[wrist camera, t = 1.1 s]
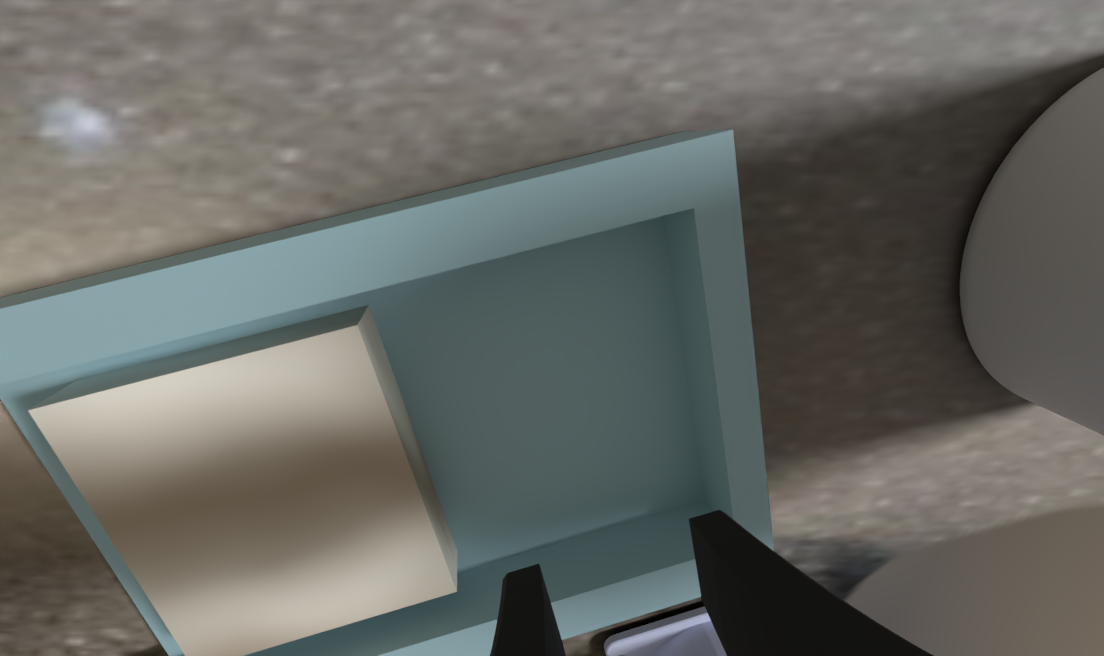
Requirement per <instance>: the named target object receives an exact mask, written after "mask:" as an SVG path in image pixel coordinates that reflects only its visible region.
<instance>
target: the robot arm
mask: <svg viewBox="0 0 1104 656" xmlns="http://www.w3.org/2000/svg"><path fill="white" fill-rule="evenodd" d="M689 524H690V530H691V537H692V543H693V549H694V555H695V561H696V567H697V573H698V579H699V586H700V592H701V598H702V602H703V604H704V607H701V608H697V609H694V610H691V611H688V612H685V613H681V614H678V615H675V616H672V617H669V618H665V619H662V620H659V621H656V622H653V623H649V624H646V625H643V626H640V627H636V628H633V629H630V630H627V631H624V632H620V633H617V634H614V635H612V636H610V637H609V638H607V639H606V641H605V643H604V650H605V654H606V656H619V655H620V656H933V655H931V654H929V653H928V652H926V651H924V650H922V649H921V648H919V647H917V646H915V645H914V644H912V643H910V642H909V641H907V640H905V639H903V638H902V637H900V636H898V635H897V634H895V633H893V632H892V631H890V630H889V629H887V628H885V627H884V626H882V625H880V624H879V623H877V622H876V621H874V620H873V619H871V618H869V617H868V616H866V615H865V614H863V613H862V612H860V611H858V610H857V609H855V608H854V607H852V606H851V605H849V604H848V603H846V602H845V601H843V600H842V599H840V598H839V597H837V596H836V595H834V594H833V593H831V592H830V591H828V590H827V589H825V588H824V587H823V586H821V585H820V584H818V583H817V582H816V581H814V580H813V579H811V578H810V577H808V576H807V575H806V574H804V573H803V572H801V571H800V570H799V569H797V568H796V567H794V566H793V565H792V564H790V563H789V562H787V561H786V560H785V559H783V558H782V557H781V556H779V555H778V554H777V553H775V552H774V551H773V550H772V549H770V548H769V547H768V546H766V545H765V544H764V543H762V542H761V541H760V540H758V539H757V538H756V537H755V536H753V535H752V534H751V533H750V532H748V531H747V530H746V529H744V528H743V527H742V526H741V525H740V524H738V523H737V522H736V521H735V520H733V519H732V518H731V517H730V516H728V515H727V514H726V513H724V512H723V511H721V510H717V511H713V512H710V513H707V514H703V515H700V516H696V517H693V518H690V519H689ZM490 656H565V651H564V647H563V643H562V639H561V636H560V632H559V629H558V626H557V622H556V619H555V615H554V612H553V609H552V605H551V602H550V598H549V595H548V592H547V588H546V585H545V581H544V578H543V575H542V571H541V568H540V565H539V564H536V565H532V566H529V567H526V568H522V569H519V570H516V571H512V572H509V573H507V574H506V575H505V577H504V578H503V580H502V592H501V600H500V607H499V613H498V619H497V625H496V630H495V635H494V640H493V645H492V649H491V653H490Z"/></svg>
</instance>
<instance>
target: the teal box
mask: <svg viewBox="0 0 1104 656" xmlns="http://www.w3.org/2000/svg"><path fill="white" fill-rule="evenodd" d="M367 305H369V307H370V310H371V312H372V315H373V318H374V321H375V324H376V326H377V329H378V332H379V335H380V337H381V340H382V343H383V346H384V349H385V351H386V354H387V357H388V360H389V362H390V365H391V368H392V371H393V374H394V376H395V379H396V382H397V385H398V387H399V390H400V393H401V396H402V399H403V401H404V404H405V407H406V410H407V413H408V415H409V418H410V421H411V424H412V426H413V429H414V432H415V435H416V438H417V440H418V443H419V446H420V449H421V451H422V454H423V457H424V460H425V463H426V465H427V468H428V471H429V474H430V476H431V479H432V482H433V485H434V488H435V490H436V493H437V496H438V499H439V501H440V504H441V507H442V510H443V513H444V515H445V518H446V521H447V524H448V526H449V529H450V532H451V535H452V538H453V540H454V543H455V546H456V549H457V592H454V593H451V594H448V595H444V596H441V597H438V598H434V599H431V600H428V601H424V602H421V603H418V604H414V605H411V606H408V607H404V608H401V609H398V610H394V611H391V612H388V613H384V614H381V615H378V616H374V617H371V618H368V619H364V620H361V621H358V622H354V623H351V624H347V625H344V626H341V627H337V628H334V629H331V630H327V631H324V632H321V633H317V634H314V635H311V636H307V637H304V638H301V639H297V640H294V641H291V642H287V643H284V644H281V645H277V646H274V647H271V648H267V649H264V650H261V651H257V652H254V653H250V654H247V655H244V656H490V653H491V649H492V645H493V640H494V635H495V630H496V625H497V619H498V613H499V607H500V600H501V592H502V580H503V578H504V577H505V575H506V574H507V573H509V572H512V571H516V570H519V569H522V568H526V567H529V566H532V565H536V564H539V565H540V568H541V571H542V575H543V578H544V581H545V585H546V588H547V592H548V595H549V598H550V602H551V605H552V609H553V612H554V615H555V619H556V622H557V626H558V629H559V632H560V636H561V639H562V640H563V639H567V638H570V637H573V636H576V635H579V634H583V633H586V632H589V631H592V630H596V629H599V628H602V627H605V626H608V625H612V624H615V623H618V622H621V621H625V620H628V619H631V618H634V617H637V616H641V615H644V614H647V613H650V612H654V611H657V610H660V609H663V608H666V607H670V606H673V605H676V604H679V603H683V602H686V601H689V600H692V599H696V598H699V597H701V592H700V586H699V579H698V573H697V567H696V561H695V555H694V549H693V543H692V537H691V530H690V524H689V519H690V518H693V517H696V516H700V515H703V514H707V513H710V512H713V511H717V510H721V511H723V512H724V513H726V514H727V515H728V516H730V517H731V518H732V519H733V520H735V521H736V522H737V523H738V524H740V525H741V526H742V527H743V528H744V529H746V530H747V531H748V532H750V533H751V534H752V535H753V536H755V537H756V538H757V539H758V540H760V541H761V542H762V543H764V544H765V545H766V546H768V547H769V548H770V549H772V550H773V551H774V546H773V536H772V526H771V516H770V505H769V495H768V485H767V474H766V464H765V454H764V443H763V433H762V423H761V412H760V402H759V392H758V381H757V371H756V361H755V351H754V340H753V330H752V320H751V309H750V299H749V289H748V278H747V268H746V258H745V247H744V237H743V227H742V216H741V206H740V196H739V185H738V175H737V165H736V155H735V144H734V134H733V129H732V130H708V131H684V132H678V133H674V134H670V135H666V136H662V137H658V138H654V139H650V140H646V141H641V142H637V143H633V144H629V145H625V146H621V147H617V148H613V149H609V150H604V151H600V152H596V153H592V154H588V155H584V156H580V157H576V158H572V159H567V160H563V161H559V162H555V163H551V164H547V165H543V166H539V167H535V168H531V169H526V170H522V171H518V172H514V173H510V174H506V175H502V176H498V177H494V178H489V179H485V180H481V181H477V182H473V183H469V184H465V185H461V186H457V187H452V188H448V189H444V190H440V191H436V192H432V193H428V194H424V195H420V196H415V197H411V198H407V199H403V200H399V201H395V202H391V203H387V204H383V205H378V206H374V207H370V208H366V209H362V210H358V211H354V212H350V213H346V214H342V215H337V216H333V217H329V218H325V219H321V220H317V221H313V222H309V223H305V224H300V225H296V226H292V227H288V228H284V229H280V230H276V231H272V232H268V233H263V234H259V235H255V236H251V237H247V238H243V239H239V240H235V241H231V242H226V243H222V244H218V245H214V246H210V247H206V248H202V249H198V250H194V251H190V252H185V253H181V254H177V255H173V256H169V257H165V258H161V259H157V260H153V261H148V262H144V263H140V264H136V265H132V266H128V267H124V268H120V269H116V270H111V271H107V272H103V273H99V274H95V275H91V276H87V277H83V278H79V279H74V280H70V281H66V282H62V283H58V284H54V285H50V286H46V287H42V288H38V289H33V290H29V291H25V292H21V293H17V294H13V295H9V296H5V297H1V298H0V400H1V401H2V403H3V404H4V406H5V407H6V409H7V410H8V412H9V413H10V415H11V416H12V418H13V419H14V421H15V422H16V424H17V425H18V427H19V428H20V430H21V432H22V433H23V435H24V436H25V438H26V439H27V441H28V442H29V444H30V445H31V447H32V448H33V450H34V451H35V453H36V454H37V456H38V457H39V459H40V460H41V462H42V463H43V465H44V467H45V468H46V470H47V471H48V473H49V474H50V476H51V477H52V479H53V480H54V482H55V483H56V485H57V486H58V488H59V489H60V491H61V492H62V494H63V495H64V497H65V499H66V500H67V502H68V503H69V505H70V506H71V508H72V509H73V511H74V512H75V514H76V515H77V517H78V518H79V520H80V521H81V523H82V524H83V526H84V527H85V529H86V531H87V532H88V534H89V535H90V537H91V538H92V540H93V541H94V543H95V544H96V546H97V547H98V549H99V550H100V552H101V553H102V555H103V556H104V558H105V559H106V561H107V562H108V564H109V566H110V567H111V569H112V570H113V572H114V573H115V575H116V576H117V578H118V579H119V581H120V582H121V584H122V585H123V587H124V588H125V590H126V591H127V593H128V594H129V596H130V598H131V599H132V601H133V602H134V604H135V605H136V607H137V608H138V610H139V611H140V613H141V614H142V616H143V617H144V619H145V620H146V622H147V623H148V625H149V626H150V628H151V630H152V631H153V633H154V634H155V636H156V637H157V639H158V640H159V642H160V643H161V645H162V646H163V648H164V649H165V651H166V652H167V654H168V655H169V656H185V655H184V653H183V652H182V650H181V648H180V647H179V645H178V644H177V642H176V641H175V639H174V638H173V636H172V634H171V633H170V631H169V630H168V628H167V627H166V625H165V623H164V622H163V620H162V619H161V617H160V616H159V614H158V613H157V611H156V609H155V608H154V606H153V605H152V603H151V602H150V600H149V599H148V597H147V595H146V594H145V592H144V591H143V589H142V588H141V586H140V585H139V583H138V581H137V580H136V578H135V577H134V575H133V574H132V572H131V571H130V569H129V567H128V566H127V564H126V563H125V561H124V560H123V558H122V556H121V555H120V553H119V552H118V550H117V549H116V547H115V546H114V544H113V542H112V541H111V539H110V538H109V536H108V535H107V533H106V532H105V530H104V528H103V527H102V525H101V524H100V522H99V521H98V519H97V518H96V516H95V514H94V513H93V511H92V510H91V508H90V507H89V505H88V503H87V502H86V500H85V499H84V497H83V496H82V494H81V493H80V491H79V489H78V488H77V486H76V485H75V483H74V482H73V480H72V479H71V477H70V475H69V474H68V472H67V471H66V469H65V468H64V466H63V465H62V463H61V461H60V460H59V458H58V457H57V455H56V454H55V452H54V450H53V449H52V447H51V446H50V444H49V443H48V441H47V440H46V438H45V436H44V435H43V433H42V432H41V430H40V429H39V427H38V426H37V424H36V422H35V421H34V419H33V418H32V416H31V415H30V413H29V412H28V410H29V409H31V408H33V407H34V406H36V405H37V404H39V403H41V402H42V401H44V400H45V399H47V398H49V397H50V396H52V395H53V394H55V393H57V392H58V391H60V390H62V389H63V388H65V387H66V386H68V385H70V384H71V383H73V382H74V381H76V380H78V379H82V378H86V377H90V376H94V375H98V374H102V373H106V372H109V371H113V370H117V369H121V368H125V367H129V366H133V365H137V364H141V363H145V362H148V361H152V360H156V359H160V358H164V357H168V356H172V355H176V354H180V353H184V352H187V351H191V350H195V349H199V348H203V347H207V346H211V345H215V344H219V343H223V342H226V341H230V340H234V339H238V338H242V337H246V336H250V335H254V334H258V333H261V332H265V331H269V330H273V329H277V328H281V327H285V326H289V325H293V324H297V323H300V322H304V321H308V320H312V319H316V318H320V317H324V316H328V315H332V314H336V313H339V312H343V311H347V310H351V309H355V308H359V307H363V306H367Z"/></svg>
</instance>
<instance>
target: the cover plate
mask: <svg viewBox="0 0 1104 656" xmlns="http://www.w3.org/2000/svg"><path fill="white" fill-rule="evenodd" d="M28 412H29V413H30V415H31V416H32V418H33V419H34V421H35V422H36V424H37V426H38V427H39V429H40V430H41V432H42V433H43V435H44V436H45V438H46V440H47V441H48V443H49V444H50V446H51V447H52V449H53V450H54V452H55V454H56V455H57V457H58V458H59V460H60V461H61V463H62V465H63V466H64V468H65V469H66V471H67V472H68V474H69V475H70V477H71V479H72V480H73V482H74V483H75V485H76V486H77V488H78V489H79V491H80V493H81V494H82V496H83V497H84V499H85V500H86V502H87V503H88V505H89V507H90V508H91V510H92V511H93V513H94V514H95V516H96V518H97V519H98V521H99V522H100V524H101V525H102V527H103V528H104V530H105V532H106V533H107V535H108V536H109V538H110V539H111V541H112V542H113V544H114V546H115V547H116V549H117V550H118V552H119V553H120V555H121V556H122V558H123V560H124V561H125V563H126V564H127V566H128V567H129V569H130V571H131V572H132V574H133V575H134V577H135V578H136V580H137V581H138V583H139V585H140V586H141V588H142V589H143V591H144V592H145V594H146V595H147V597H148V599H149V600H150V602H151V603H152V605H153V606H154V608H155V609H156V611H157V613H158V614H159V616H160V617H161V619H162V620H163V622H164V623H165V625H166V627H167V628H168V630H169V631H170V633H171V634H172V636H173V638H174V639H175V641H176V642H177V644H178V645H179V647H180V648H181V650H182V652H183V653H184V655H185V656H244V655H247V654H250V653H254V652H257V651H261V650H264V649H267V648H271V647H274V646H277V645H281V644H284V643H287V642H291V641H294V640H297V639H301V638H304V637H307V636H311V635H314V634H317V633H321V632H324V631H327V630H331V629H334V628H337V627H341V626H344V625H347V624H351V623H354V622H358V621H361V620H364V619H368V618H371V617H374V616H378V615H381V614H384V613H388V612H391V611H394V610H398V609H401V608H404V607H408V606H411V605H414V604H418V603H421V602H424V601H428V600H431V599H434V598H438V597H441V596H444V595H448V594H451V593H454V592H457V549H456V546H455V543H454V540H453V538H452V535H451V532H450V529H449V526H448V524H447V521H446V518H445V515H444V513H443V510H442V507H441V504H440V501H439V499H438V496H437V493H436V490H435V488H434V485H433V482H432V479H431V476H430V474H429V471H428V468H427V465H426V463H425V460H424V457H423V454H422V451H421V449H420V446H419V443H418V440H417V438H416V435H415V432H414V429H413V426H412V424H411V421H410V418H409V415H408V413H407V410H406V407H405V404H404V401H403V399H402V396H401V393H400V390H399V387H398V385H397V382H396V379H395V376H394V374H393V371H392V368H391V365H390V362H389V360H388V357H387V354H386V351H385V349H384V346H383V343H382V340H381V337H380V335H379V332H378V329H377V326H376V324H375V321H374V318H373V315H372V312H371V310H370V307H369V305H367V306H363V307H359V308H355V309H351V310H347V311H343V312H339V313H336V314H332V315H328V316H324V317H320V318H316V319H312V320H308V321H304V322H300V323H297V324H293V325H289V326H285V327H281V328H277V329H273V330H269V331H265V332H261V333H258V334H254V335H250V336H246V337H242V338H238V339H234V340H230V341H226V342H223V343H219V344H215V345H211V346H207V347H203V348H199V349H195V350H191V351H187V352H184V353H180V354H176V355H172V356H168V357H164V358H160V359H156V360H152V361H148V362H145V363H141V364H137V365H133V366H129V367H125V368H121V369H117V370H113V371H109V372H106V373H102V374H98V375H94V376H90V377H86V378H82V379H78V380H76V381H74V382H73V383H71V384H70V385H68V386H66V387H65V388H63V389H62V390H60V391H58V392H57V393H55V394H53V395H52V396H50V397H49V398H47V399H45V400H44V401H42V402H41V403H39V404H37V405H36V406H34V407H33V408H31V409H29V410H28Z"/></svg>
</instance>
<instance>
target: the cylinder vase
mask: <svg viewBox="0 0 1104 656" xmlns="http://www.w3.org/2000/svg"><path fill="white" fill-rule="evenodd" d="M960 305H961V313H962V319H963V323H964V327H965V331H966V334H967V337H968V339H969V342H970V344H971V347H972V349H973V351H974V353H975V354H976V356H977V358H978V359H979V361H980V362H981V364H982V365H983V366H984V368H985V369H986V370H987V371H988V372H989V374H990V375H991V376H992V377H993V378H994V379H995V380H997V381H998V382H999V383H1000V384H1001V385H1002V386H1004V387H1005V388H1007V389H1008V390H1009V391H1011V392H1013V393H1014V394H1016V395H1018V396H1020V397H1022V398H1024V399H1026V400H1028V401H1030V402H1032V403H1035V404H1037V405H1039V406H1041V407H1043V408H1045V409H1048V410H1050V411H1052V412H1054V413H1056V414H1059V415H1061V416H1063V417H1065V418H1067V419H1070V420H1072V421H1074V422H1076V423H1078V424H1080V425H1083V426H1085V427H1087V428H1089V429H1091V430H1094V431H1096V432H1098V433H1100V434H1102V435H1104V67H1103V68H1102V69H1100V70H1098V71H1097V72H1095V73H1093V74H1092V75H1090V76H1089V77H1087V78H1086V79H1084V80H1083V81H1081V82H1080V83H1078V84H1077V85H1075V86H1074V87H1073V88H1071V89H1070V90H1069V91H1068V92H1066V93H1065V94H1064V95H1063V96H1061V97H1060V98H1059V99H1058V100H1057V101H1056V102H1054V103H1053V104H1052V105H1051V106H1050V107H1049V108H1048V109H1047V110H1046V111H1045V112H1044V113H1043V114H1042V115H1041V116H1040V117H1039V118H1038V119H1037V120H1036V121H1035V122H1034V123H1033V124H1032V125H1031V126H1030V127H1029V128H1028V129H1027V131H1026V132H1025V133H1024V134H1023V135H1022V136H1021V138H1020V139H1019V140H1018V141H1017V143H1016V144H1015V145H1014V146H1013V148H1012V149H1011V150H1010V152H1009V153H1008V155H1007V156H1006V157H1005V159H1004V160H1003V162H1002V163H1001V165H1000V167H999V168H998V170H997V171H996V173H995V175H994V176H993V178H992V180H991V182H990V183H989V185H988V187H987V189H986V191H985V193H984V195H983V197H982V199H981V201H980V204H979V206H978V208H977V211H976V213H975V216H974V218H973V221H972V224H971V227H970V230H969V233H968V237H967V240H966V244H965V249H964V253H963V258H962V265H961V273H960Z"/></svg>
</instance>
